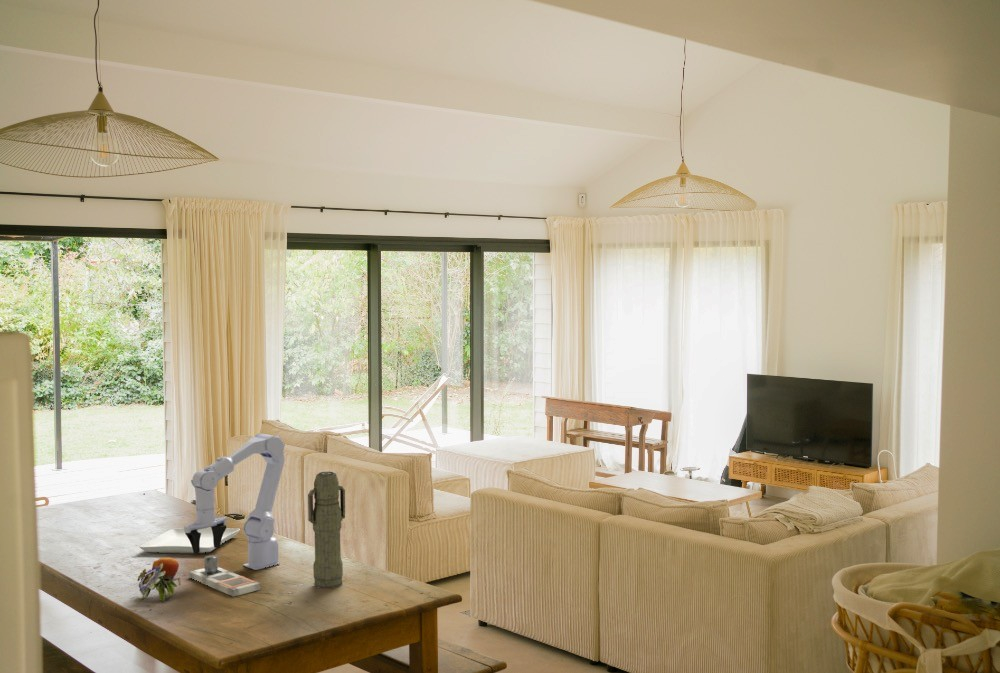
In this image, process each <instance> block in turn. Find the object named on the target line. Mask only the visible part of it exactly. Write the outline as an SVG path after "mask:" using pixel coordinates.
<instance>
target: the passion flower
mask: <svg viewBox="0 0 1000 673" xmlns="http://www.w3.org/2000/svg"><path fill="white" fill-rule="evenodd" d="M162 568H163V563H161V564H160V566H159V567H157V566H156V567H154V568H151V569H149V570H147V569H146V568H144V569H143V570H142V571H141V572H140V573H139V575H138V576H137V582H139V583H138V588H139V589H138V590H139V592H140V593H141V595H142V596H141V598H140V599H141V600H145V599H144V598H147V597H148V596H149V595H150V593H151V591H153V590H155V589H156V591H157V592H158V597H159V600H160V601H161V602H163V601H164V602H165V598H166V594H168V595H167V596H168V598H169V599H170V598H171V597H172V596H173V595H174V593H175V588H177V587H178V586H181V584H182V583H181V577H178V578H175V579H173V580H171V581H170V580H167V581H166V579H164V578H165V573H166V572H165V571H163V572H161V570H162ZM176 580H177V582H178V586H177V584H176V583H175V582H174V581H176ZM166 590H167V591H166Z"/></svg>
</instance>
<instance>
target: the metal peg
mask: <svg viewBox="0 0 1000 673" xmlns="http://www.w3.org/2000/svg"><path fill="white" fill-rule="evenodd" d="M203 560H204V565H203V566H204V568H205V575H206V576H209V575H214V574H218V567H219V566H218V555H216V554H214V555H213V554H212V555H205V556H204V558H203Z"/></svg>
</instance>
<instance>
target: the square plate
mask: <svg viewBox="0 0 1000 673" xmlns="http://www.w3.org/2000/svg"><path fill="white" fill-rule="evenodd" d="M197 531H198V533H201V537H200V552H199V554H206V553H211V552H212V551H213V550H215V549H216V548H215V547H214V543H213V533H212V529H211V527H208V528H204V529H200V530H197ZM239 531H241V528H232V527H231V528H228V527H226V530H225V532H224V534H223V536H222V539H221V543H220V546H221V545H222V543H223V544H224V543H226V542H227V541H229V540H230V539H232V538H233V537H235V536H236V535H237V534H238V533H239ZM225 541H226V542H225ZM139 549H141V550H142V551H144V552H148V553H157V552H159V554H195V553H194V552H193V548H192V545H191V543H190V541H189V539H188V537H187V536H186V534H185V532H184V527H181V528H179V527H178V528H177V527H176V528H175V527H174V528H171V529H169V530H167V531H165V532H163V533H160V534H159V535H157V536H155V537H153V538H150V540H148V541H146V542H144V543H142V544H141V545H140V546H139ZM205 552H206V553H205Z"/></svg>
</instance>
